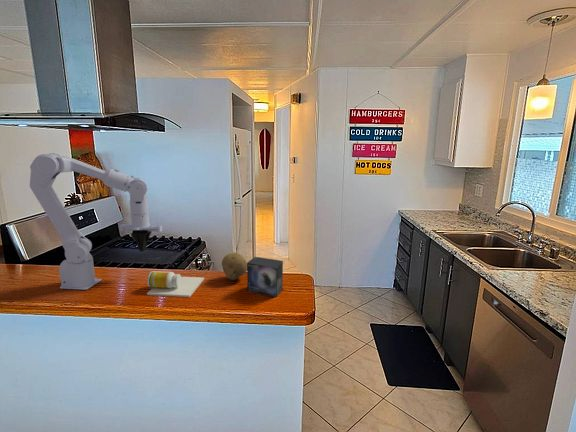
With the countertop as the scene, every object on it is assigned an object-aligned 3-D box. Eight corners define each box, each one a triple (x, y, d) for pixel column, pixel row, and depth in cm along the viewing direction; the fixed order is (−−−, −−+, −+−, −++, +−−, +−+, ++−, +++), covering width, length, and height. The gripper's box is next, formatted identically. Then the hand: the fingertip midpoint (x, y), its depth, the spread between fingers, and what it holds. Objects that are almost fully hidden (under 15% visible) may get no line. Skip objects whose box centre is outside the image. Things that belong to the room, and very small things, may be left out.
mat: (147, 294, 103) (146, 293, 102) (166, 277, 116) (166, 275, 116) (189, 297, 102) (189, 295, 101) (204, 279, 115) (204, 277, 115)
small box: (246, 292, 106) (245, 262, 103) (254, 284, 112) (254, 256, 109) (275, 298, 102) (276, 267, 100) (283, 289, 108) (283, 260, 106)
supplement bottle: (154, 269, 109) (182, 270, 109) (154, 284, 110) (182, 285, 109) (146, 273, 104) (175, 274, 103) (147, 289, 104) (175, 290, 104)
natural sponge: (245, 273, 121) (245, 248, 119) (249, 283, 112) (249, 256, 110) (221, 275, 118) (220, 250, 116) (223, 285, 110) (222, 258, 108)
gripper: (112, 215, 108) (116, 253, 111) (154, 216, 107) (157, 255, 110) (124, 210, 115) (128, 247, 118) (163, 212, 114) (166, 248, 117)
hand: (142, 250), depth 115 cm, fingers closed
